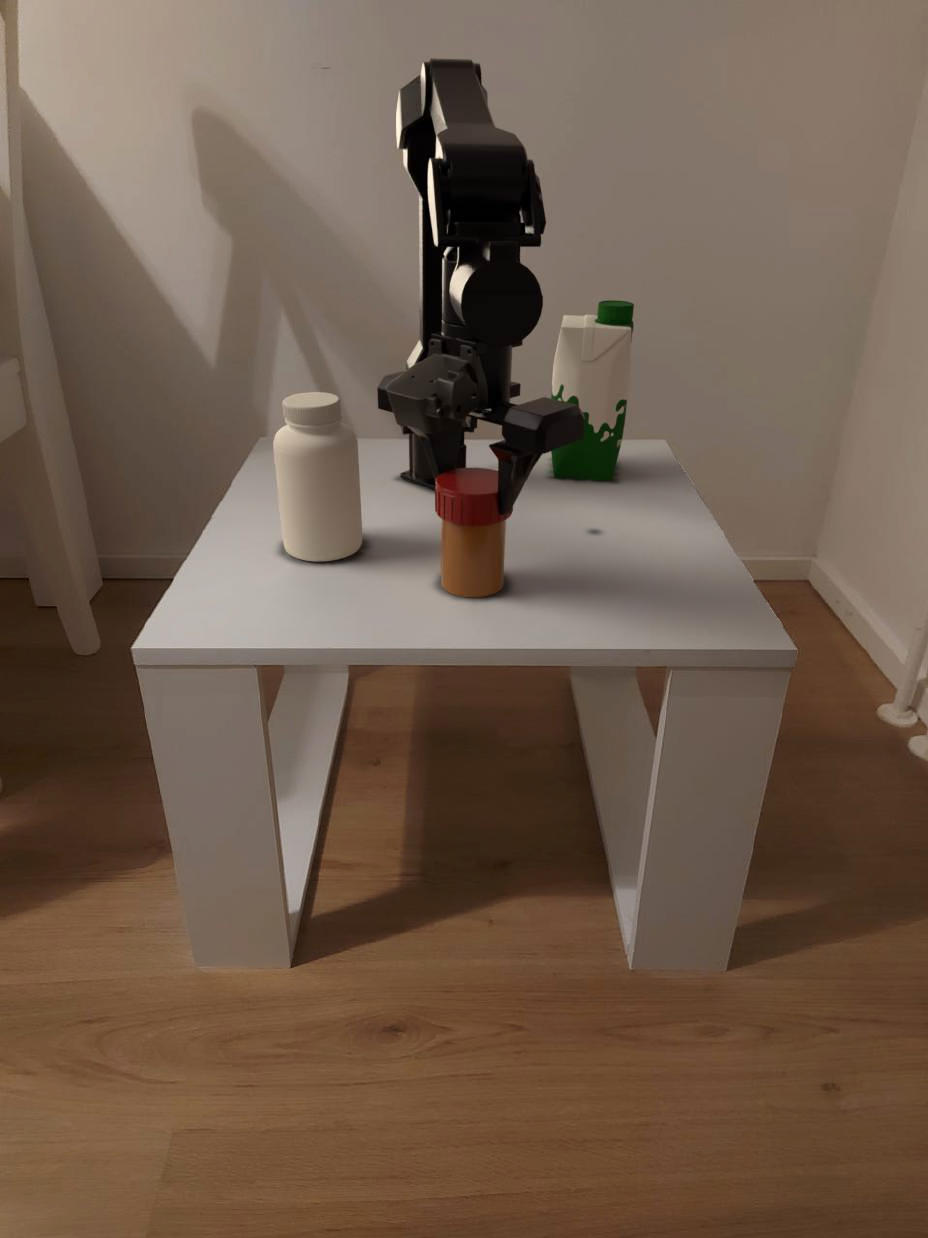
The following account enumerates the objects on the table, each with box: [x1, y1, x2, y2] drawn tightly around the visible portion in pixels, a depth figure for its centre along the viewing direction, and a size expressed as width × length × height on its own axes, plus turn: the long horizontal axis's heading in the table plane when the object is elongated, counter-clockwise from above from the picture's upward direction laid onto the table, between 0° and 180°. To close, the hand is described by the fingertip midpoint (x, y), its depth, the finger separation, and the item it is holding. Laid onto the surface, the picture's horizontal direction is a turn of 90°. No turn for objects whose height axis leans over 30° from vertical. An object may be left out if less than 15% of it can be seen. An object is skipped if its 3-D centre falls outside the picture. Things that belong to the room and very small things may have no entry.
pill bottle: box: [272, 391, 363, 562], centre depth 84 cm, size 8×8×15 cm
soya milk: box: [550, 299, 635, 482], centre depth 104 cm, size 9×9×20 cm
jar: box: [440, 518, 507, 599], centre depth 79 cm, size 6×6×10 cm
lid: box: [434, 467, 514, 526], centre depth 77 cm, size 7×7×3 cm
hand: (473, 503), depth 77 cm, fingers closed on lid, 7 cm apart
